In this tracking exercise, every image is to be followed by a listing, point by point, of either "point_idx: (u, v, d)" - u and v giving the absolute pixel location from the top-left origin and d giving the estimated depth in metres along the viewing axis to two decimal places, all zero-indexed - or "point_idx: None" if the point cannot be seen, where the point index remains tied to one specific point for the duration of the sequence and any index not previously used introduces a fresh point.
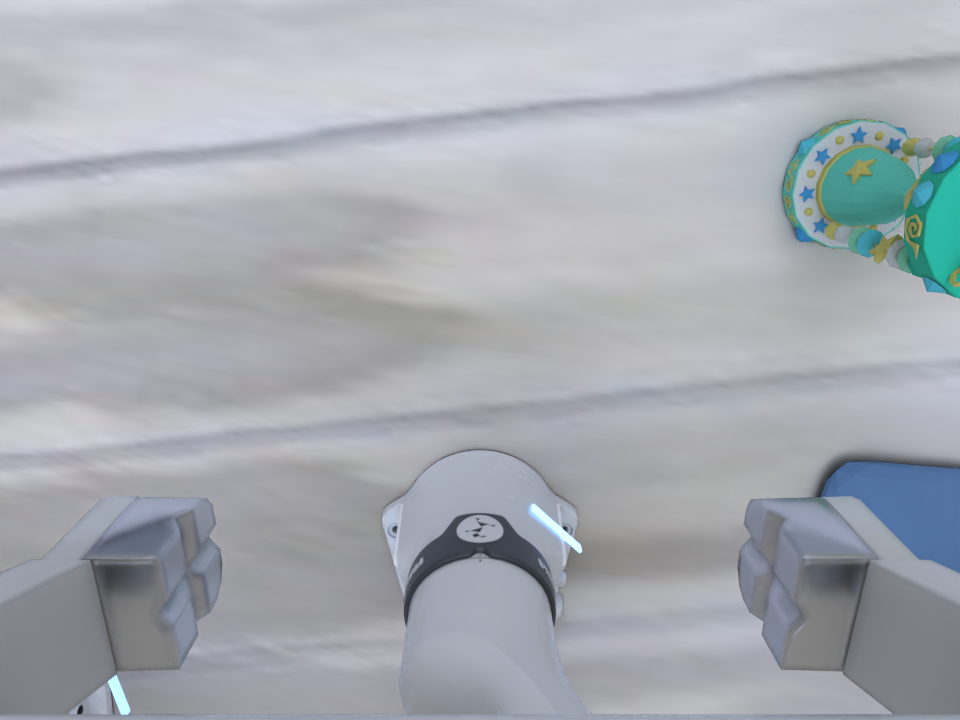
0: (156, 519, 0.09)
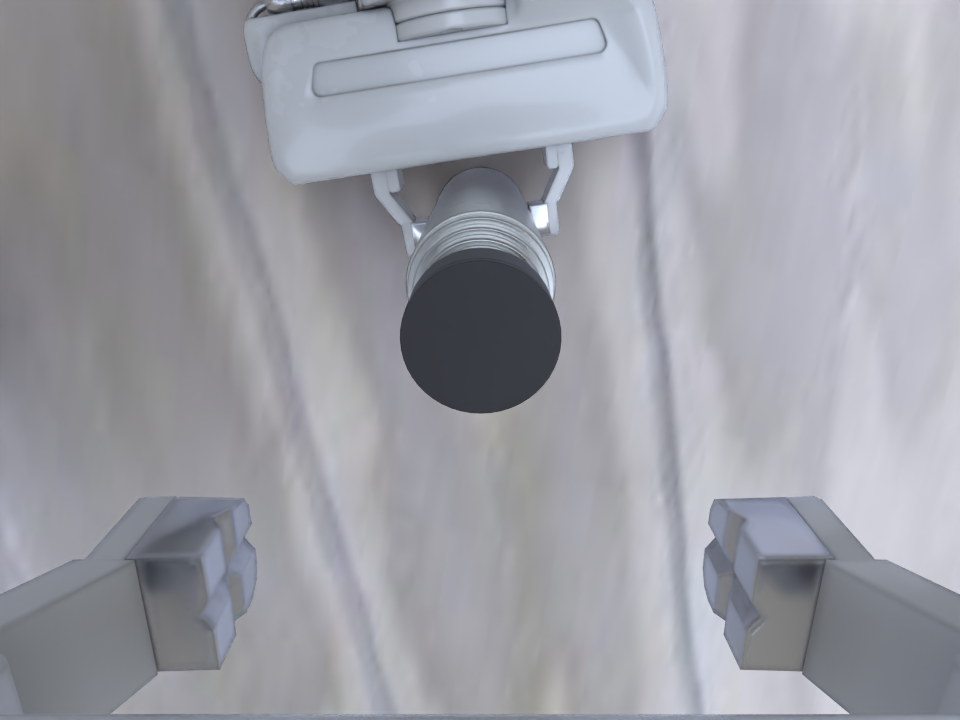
0: (196, 519, 0.09)
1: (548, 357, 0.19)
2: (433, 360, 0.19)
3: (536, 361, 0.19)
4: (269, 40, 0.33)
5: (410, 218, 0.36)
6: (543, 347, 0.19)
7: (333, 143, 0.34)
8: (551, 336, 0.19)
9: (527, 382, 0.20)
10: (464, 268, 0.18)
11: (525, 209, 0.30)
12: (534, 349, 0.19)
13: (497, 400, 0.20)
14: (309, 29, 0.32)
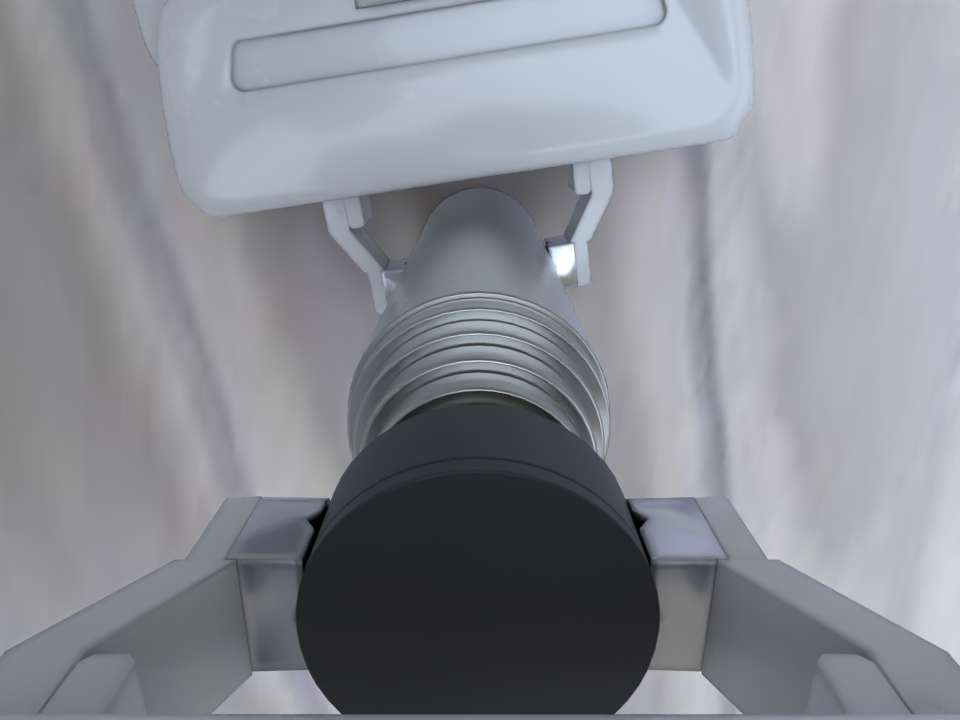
0: (288, 519, 0.09)
1: (628, 663, 0.09)
2: (372, 669, 0.09)
3: (601, 671, 0.09)
4: (165, 7, 0.22)
5: (380, 263, 0.26)
6: (618, 644, 0.09)
7: (265, 160, 0.23)
8: (637, 623, 0.08)
9: (580, 709, 0.09)
10: (438, 486, 0.08)
11: (548, 263, 0.20)
12: (598, 648, 0.09)
13: None
14: None
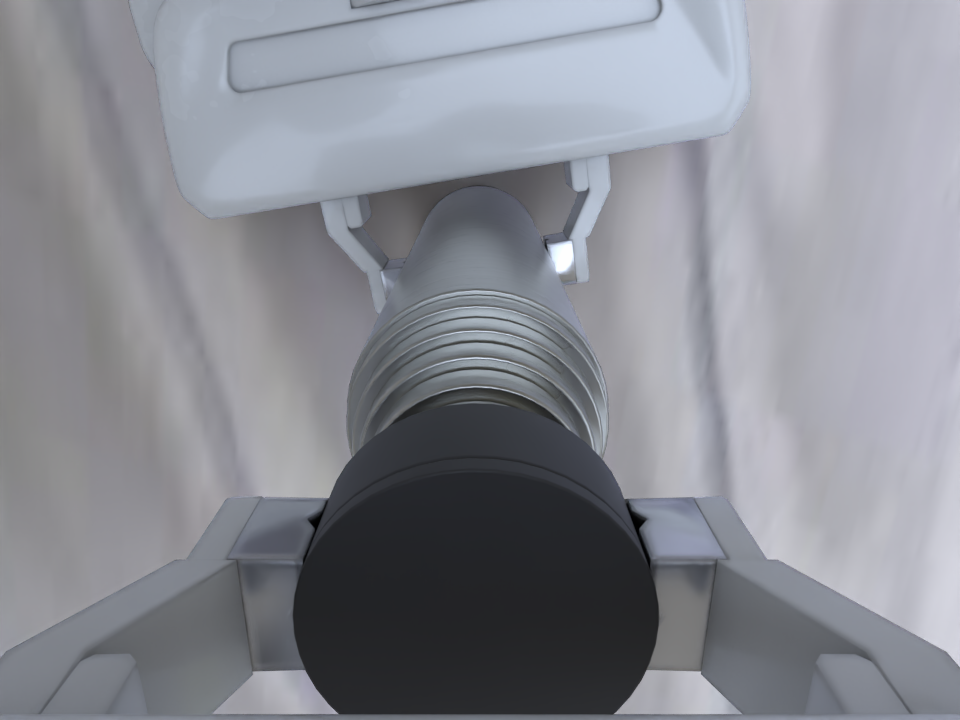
0: (288, 519, 0.09)
1: (536, 500, 0.08)
2: None
3: (542, 527, 0.08)
4: (161, 9, 0.22)
5: (379, 263, 0.26)
6: (508, 509, 0.08)
7: (263, 161, 0.23)
8: (482, 490, 0.08)
9: (594, 548, 0.08)
10: (310, 645, 0.09)
11: (546, 260, 0.20)
12: (511, 529, 0.08)
13: (629, 611, 0.08)
14: None
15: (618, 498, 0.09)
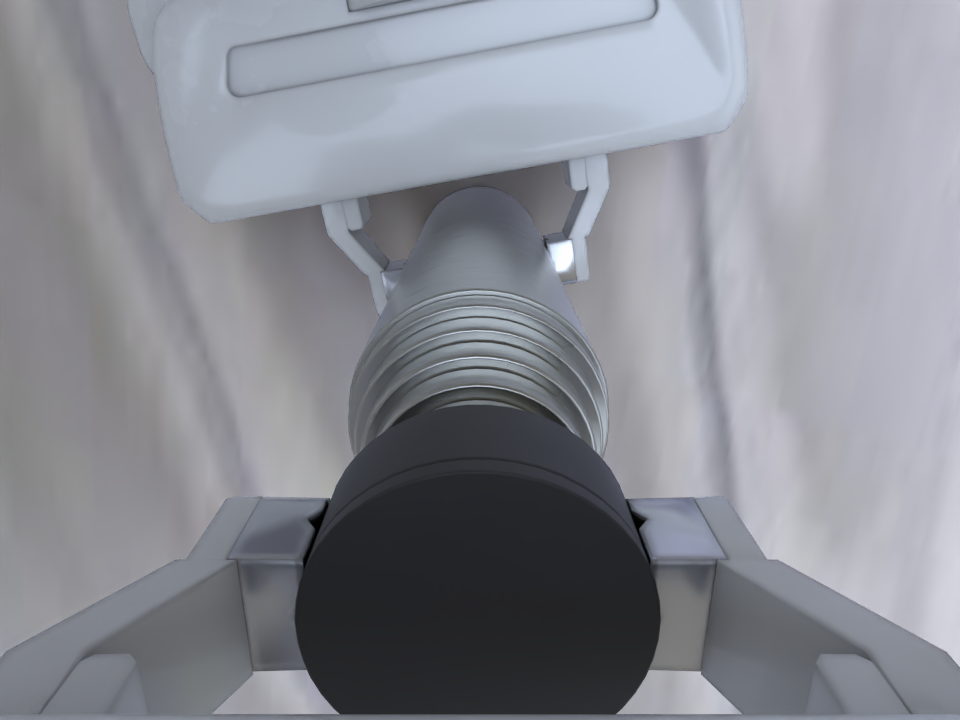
0: (288, 519, 0.09)
1: (327, 574, 0.08)
2: (594, 611, 0.08)
3: (357, 570, 0.08)
4: (160, 16, 0.22)
5: (380, 265, 0.26)
6: (337, 595, 0.08)
7: (262, 164, 0.24)
8: (317, 614, 0.08)
9: (384, 528, 0.08)
10: None
11: (545, 260, 0.20)
12: (358, 595, 0.08)
13: (466, 500, 0.08)
14: None
15: (390, 453, 0.09)
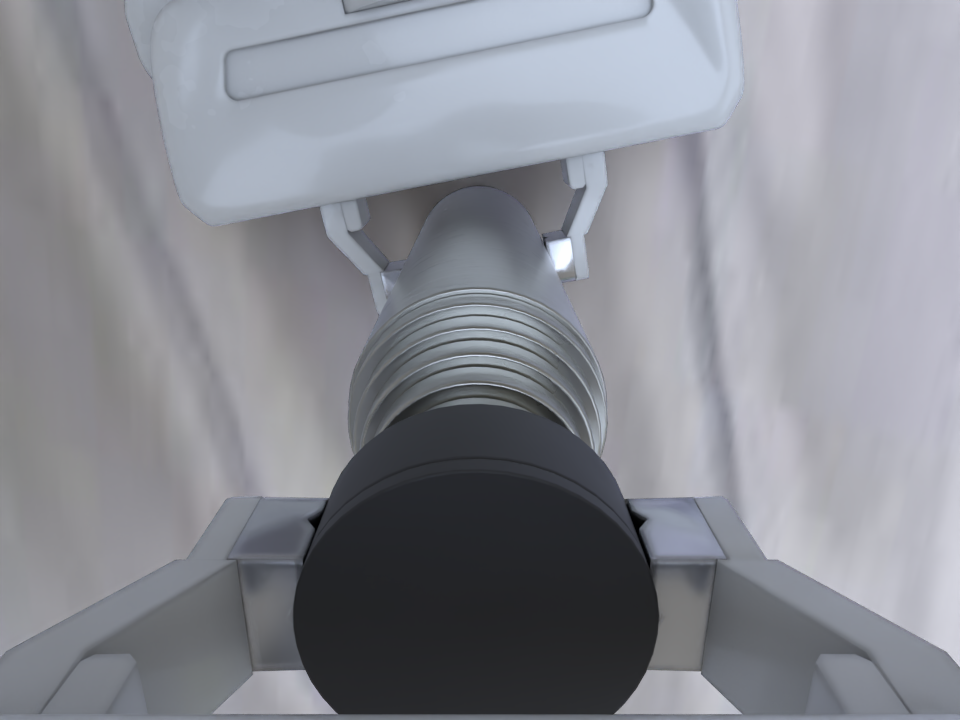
0: (288, 519, 0.09)
1: None
2: (459, 532, 0.08)
3: None
4: (157, 20, 0.22)
5: (379, 265, 0.26)
6: None
7: (261, 167, 0.24)
8: None
9: (350, 689, 0.09)
10: (642, 640, 0.09)
11: (544, 258, 0.20)
12: None
13: (322, 628, 0.08)
14: (214, 2, 0.22)
15: None
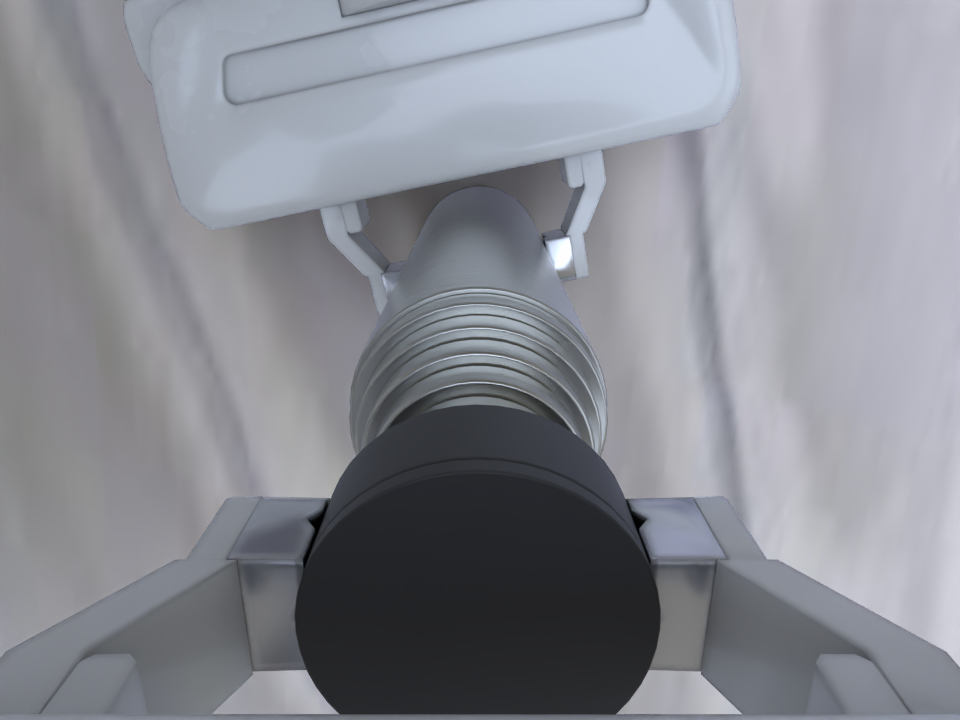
0: (288, 519, 0.09)
1: (600, 705, 0.09)
2: (359, 636, 0.08)
3: (572, 704, 0.09)
4: (156, 26, 0.22)
5: (380, 267, 0.26)
6: (599, 685, 0.09)
7: (261, 170, 0.24)
8: (625, 671, 0.09)
9: None
10: (509, 485, 0.08)
11: (543, 257, 0.20)
12: (579, 683, 0.09)
13: None
14: (212, 7, 0.22)
15: None
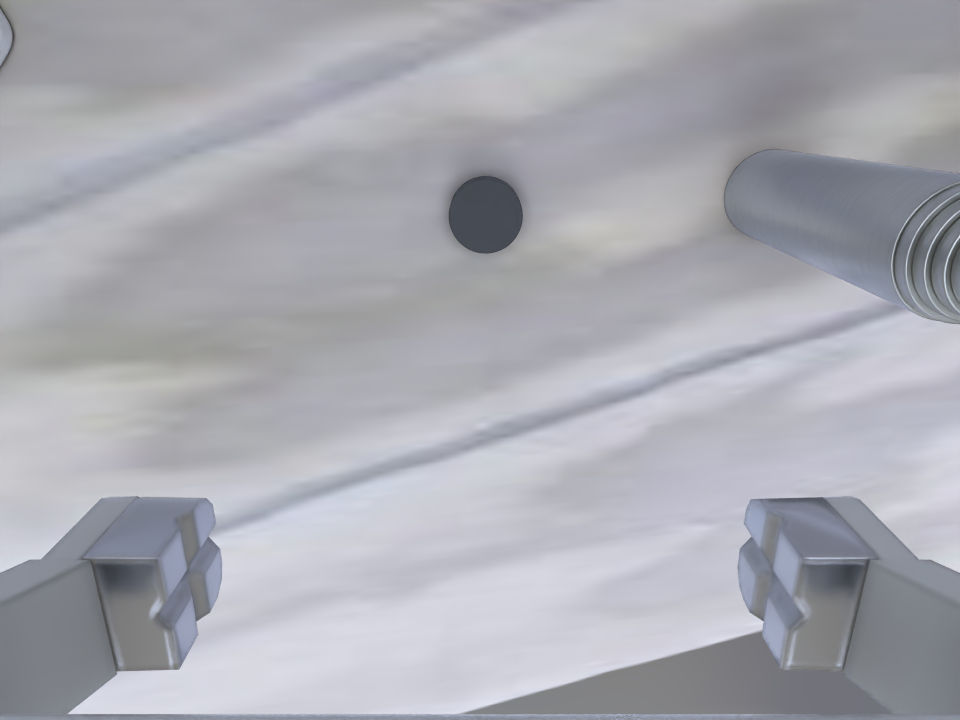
0: (156, 519, 0.09)
1: (507, 192, 0.42)
2: (484, 240, 0.43)
3: (507, 198, 0.42)
4: None
5: None
6: (502, 192, 0.42)
7: None
8: (499, 186, 0.41)
9: (514, 207, 0.42)
10: (452, 207, 0.42)
11: None
12: (501, 196, 0.42)
13: (515, 223, 0.42)
14: None
15: None
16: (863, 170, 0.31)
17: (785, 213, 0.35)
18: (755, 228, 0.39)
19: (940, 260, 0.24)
